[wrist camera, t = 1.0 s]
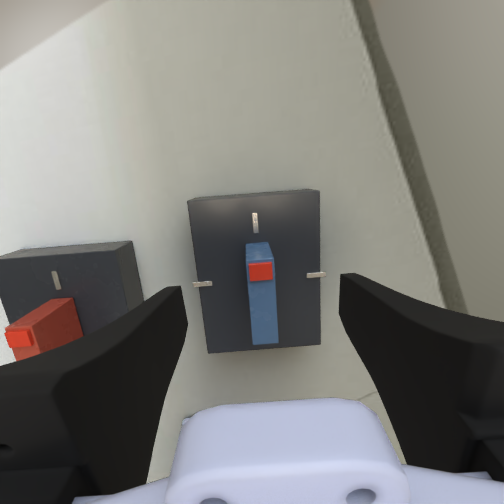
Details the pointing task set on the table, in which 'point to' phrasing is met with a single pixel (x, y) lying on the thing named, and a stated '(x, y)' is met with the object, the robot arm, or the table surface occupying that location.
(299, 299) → the panel
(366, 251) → the table surface
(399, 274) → the table surface
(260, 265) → the cold tap
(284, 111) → the table surface
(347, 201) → the table surface
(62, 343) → the block
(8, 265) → the hot tap panel
